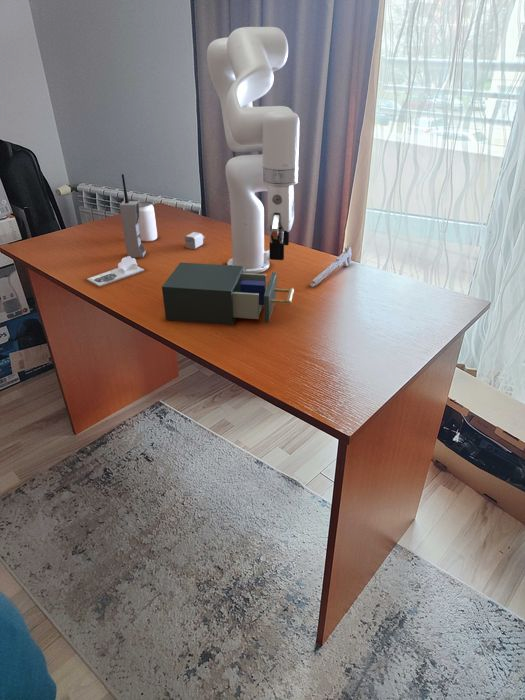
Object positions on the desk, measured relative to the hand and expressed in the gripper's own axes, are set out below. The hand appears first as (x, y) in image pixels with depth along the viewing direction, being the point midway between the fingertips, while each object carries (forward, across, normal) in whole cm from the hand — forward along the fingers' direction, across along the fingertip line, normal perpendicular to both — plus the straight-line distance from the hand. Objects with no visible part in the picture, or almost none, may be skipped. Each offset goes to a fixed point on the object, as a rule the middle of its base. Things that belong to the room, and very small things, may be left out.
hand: (279, 251), depth 116 cm
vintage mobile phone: (+16, +31, +50) cm, 61 cm away
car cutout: (+16, +16, +50) cm, 55 cm away
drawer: (+15, 0, +7) cm, 17 cm away
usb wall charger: (+16, +43, +33) cm, 57 cm away
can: (+16, +46, +51) cm, 71 cm away
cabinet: (+16, 0, +19) cm, 25 cm away
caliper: (+16, +25, -12) cm, 32 cm away
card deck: (+14, +1, +7) cm, 16 cm away
